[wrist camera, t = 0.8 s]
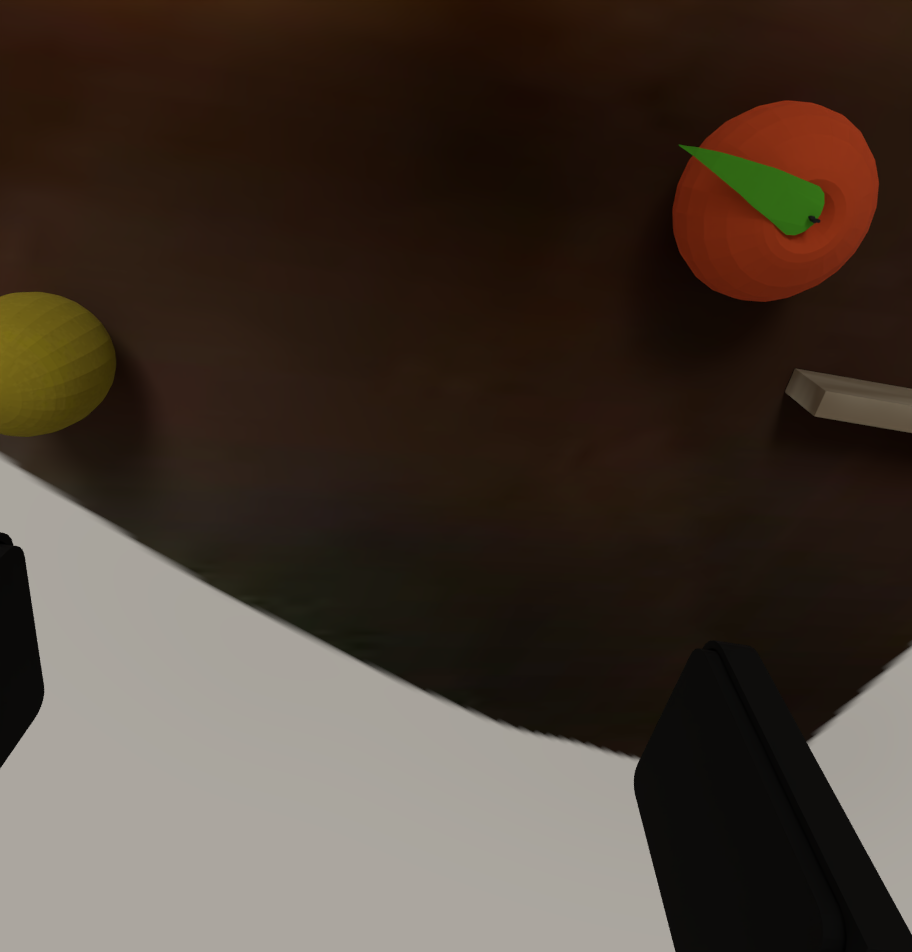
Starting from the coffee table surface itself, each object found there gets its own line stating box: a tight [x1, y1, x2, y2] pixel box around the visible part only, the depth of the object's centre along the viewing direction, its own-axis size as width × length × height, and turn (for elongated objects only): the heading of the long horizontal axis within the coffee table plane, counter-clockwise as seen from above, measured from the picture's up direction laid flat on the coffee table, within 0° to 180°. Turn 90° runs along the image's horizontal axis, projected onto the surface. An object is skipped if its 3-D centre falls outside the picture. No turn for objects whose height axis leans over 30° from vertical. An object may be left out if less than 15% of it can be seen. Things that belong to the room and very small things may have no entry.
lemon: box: [0, 292, 116, 437], centre depth 27 cm, size 6×6×8 cm
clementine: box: [672, 100, 879, 302], centre depth 25 cm, size 8×7×7 cm
